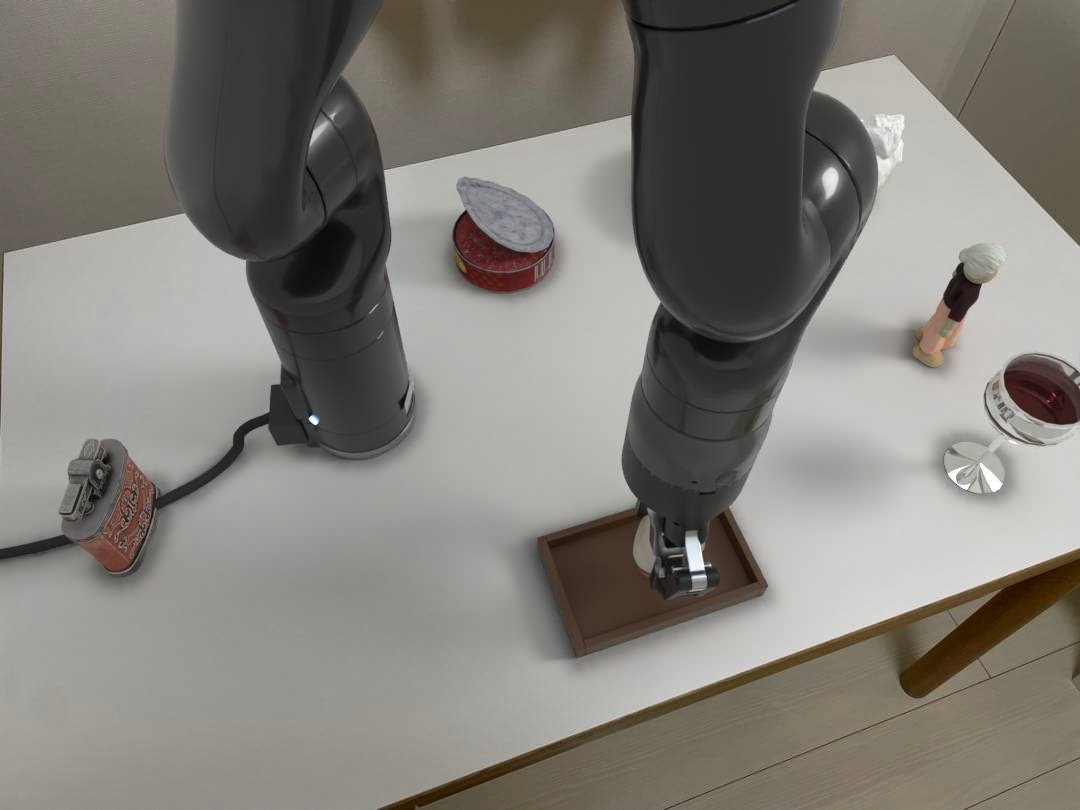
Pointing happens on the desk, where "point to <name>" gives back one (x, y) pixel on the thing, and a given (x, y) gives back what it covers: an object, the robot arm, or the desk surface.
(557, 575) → the tray
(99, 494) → the lighter
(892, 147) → the bust
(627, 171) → the desk surface
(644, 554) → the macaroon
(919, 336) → the grandmother figurine
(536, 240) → the canned food
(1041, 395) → the wineglass
